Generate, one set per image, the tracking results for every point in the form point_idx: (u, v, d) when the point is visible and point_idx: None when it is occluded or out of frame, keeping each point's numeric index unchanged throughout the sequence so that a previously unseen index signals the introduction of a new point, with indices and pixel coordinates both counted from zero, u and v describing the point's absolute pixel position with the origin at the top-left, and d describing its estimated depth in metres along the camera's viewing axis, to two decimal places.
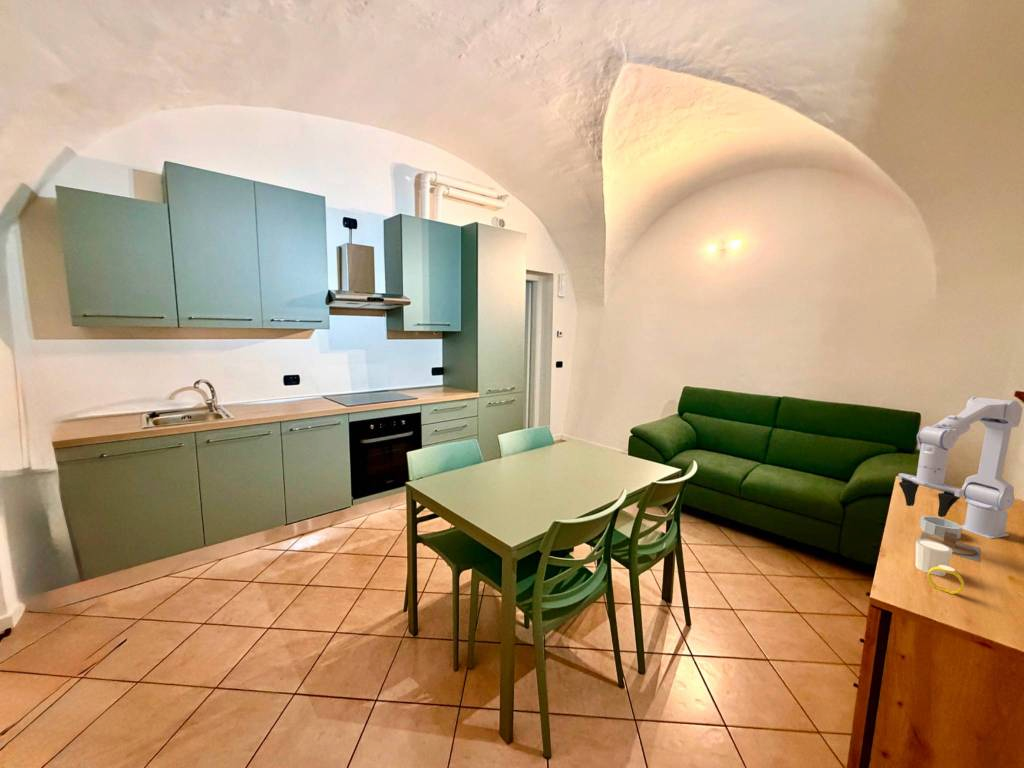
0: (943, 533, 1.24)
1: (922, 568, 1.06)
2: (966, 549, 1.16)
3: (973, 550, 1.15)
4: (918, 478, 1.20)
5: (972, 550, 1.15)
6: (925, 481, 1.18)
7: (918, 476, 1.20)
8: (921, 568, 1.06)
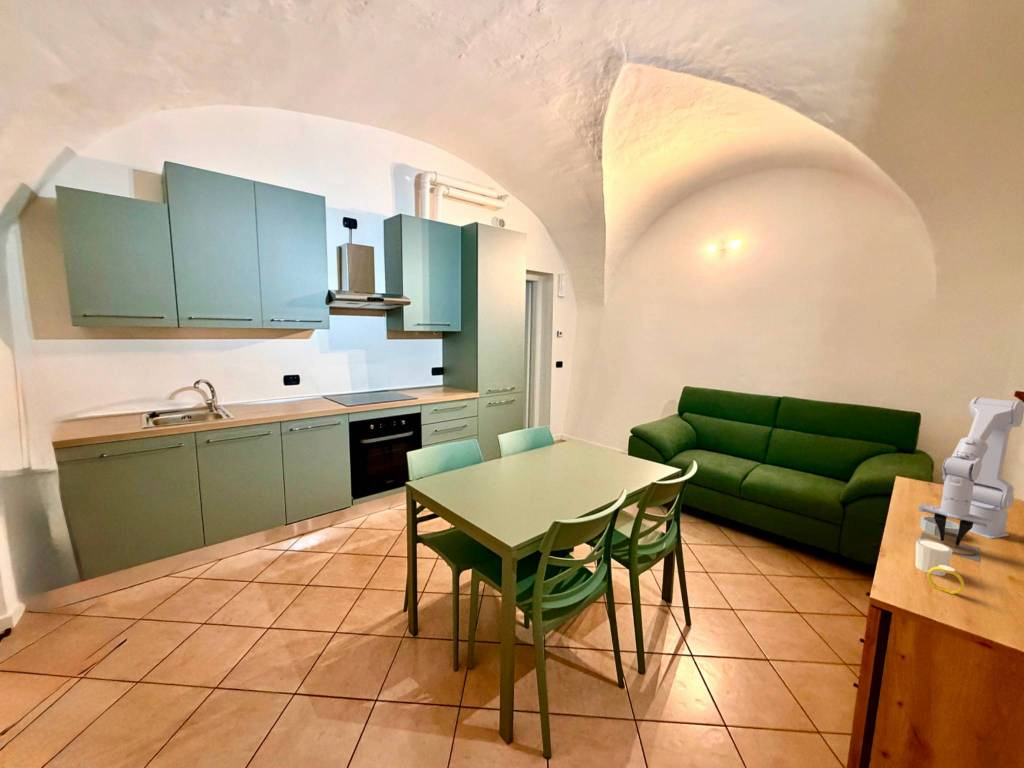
0: None
1: (922, 568, 1.06)
2: (966, 549, 1.16)
3: (973, 550, 1.15)
4: (947, 511, 1.17)
5: (972, 550, 1.15)
6: (956, 514, 1.15)
7: (946, 509, 1.17)
8: (921, 568, 1.06)
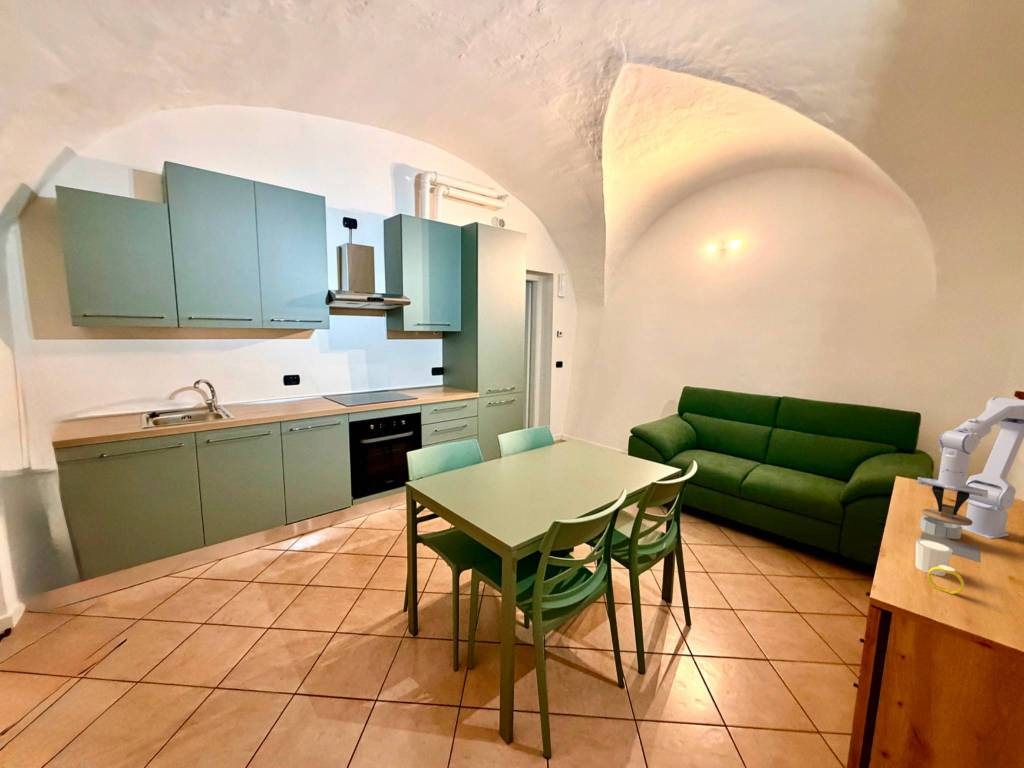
0: (943, 533, 1.24)
1: (922, 568, 1.06)
2: (962, 520, 1.20)
3: (969, 521, 1.20)
4: (944, 482, 1.22)
5: (968, 521, 1.20)
6: (953, 485, 1.20)
7: (944, 480, 1.22)
8: (921, 568, 1.06)
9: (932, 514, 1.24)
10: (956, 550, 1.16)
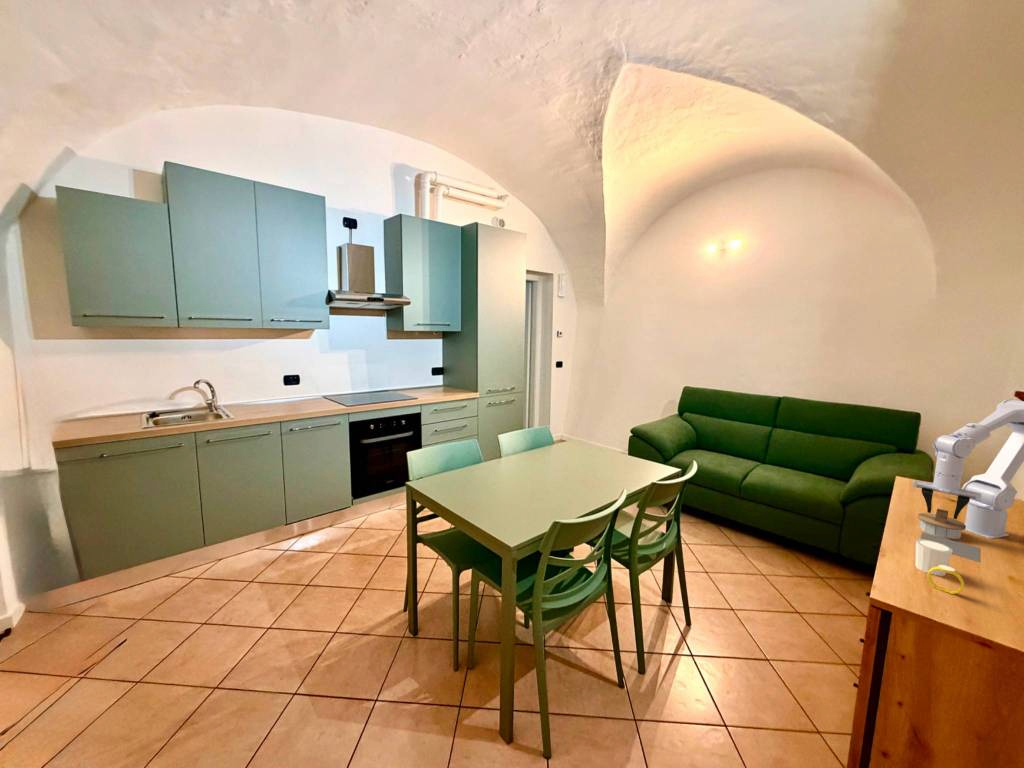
0: (943, 533, 1.24)
1: (922, 568, 1.06)
2: (956, 525, 1.24)
3: (963, 525, 1.24)
4: (939, 486, 1.26)
5: (962, 525, 1.24)
6: (948, 488, 1.24)
7: (939, 484, 1.26)
8: (921, 568, 1.06)
9: (927, 518, 1.28)
10: (956, 550, 1.16)
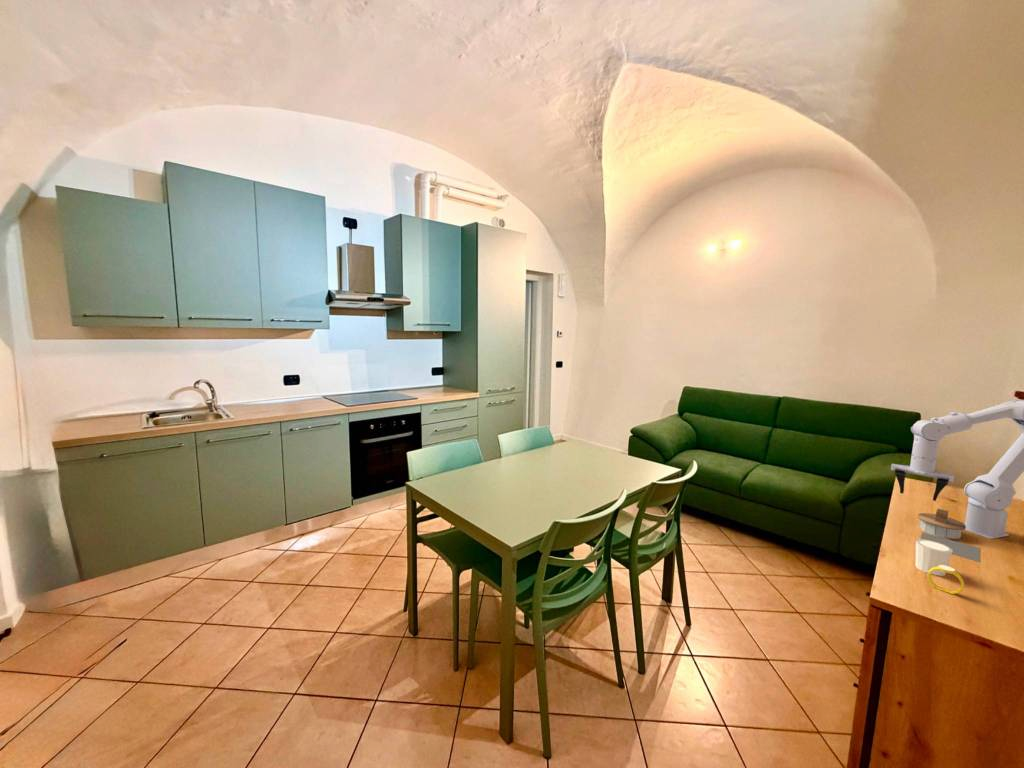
0: (943, 533, 1.24)
1: (922, 568, 1.06)
2: (956, 525, 1.24)
3: (963, 525, 1.24)
4: (915, 468, 1.31)
5: (962, 525, 1.24)
6: (923, 470, 1.30)
7: (915, 466, 1.31)
8: (921, 568, 1.06)
9: (927, 518, 1.28)
10: (956, 550, 1.16)
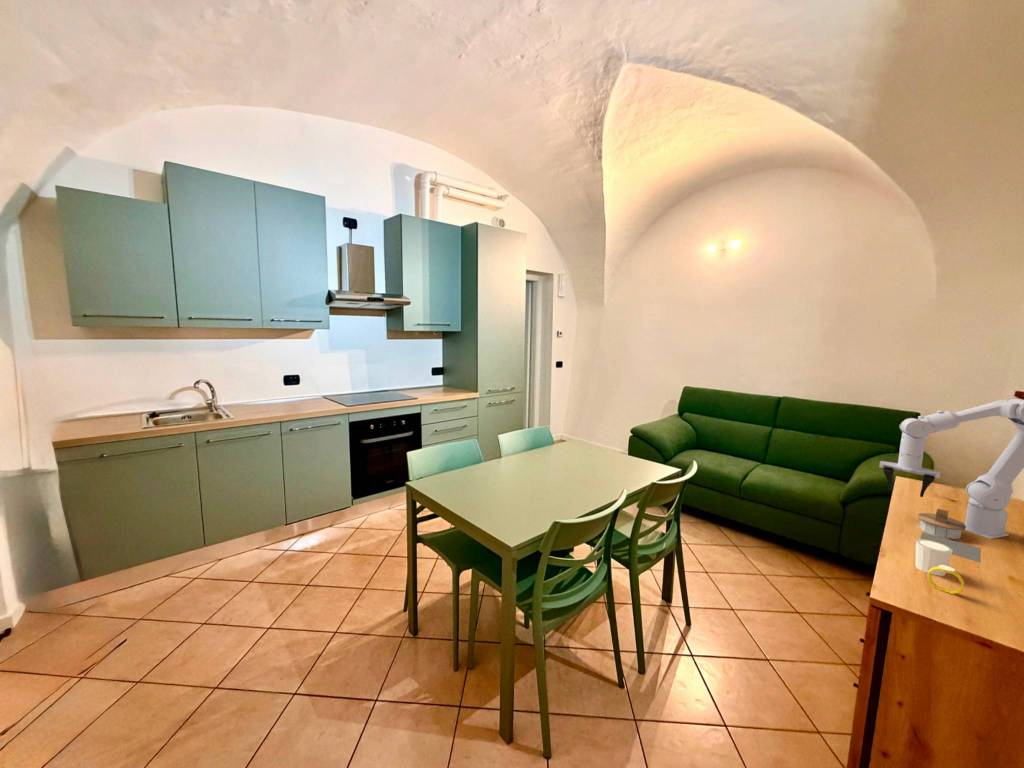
0: (943, 533, 1.24)
1: (922, 568, 1.06)
2: (956, 525, 1.24)
3: (963, 525, 1.24)
4: (902, 465, 1.35)
5: (962, 525, 1.24)
6: (910, 467, 1.33)
7: (902, 463, 1.35)
8: (921, 568, 1.06)
9: (927, 518, 1.28)
10: (956, 550, 1.16)
